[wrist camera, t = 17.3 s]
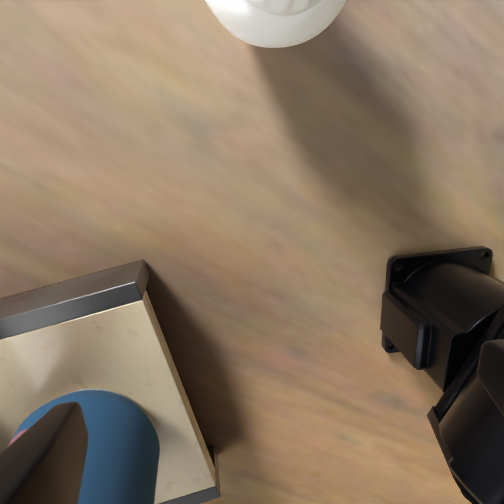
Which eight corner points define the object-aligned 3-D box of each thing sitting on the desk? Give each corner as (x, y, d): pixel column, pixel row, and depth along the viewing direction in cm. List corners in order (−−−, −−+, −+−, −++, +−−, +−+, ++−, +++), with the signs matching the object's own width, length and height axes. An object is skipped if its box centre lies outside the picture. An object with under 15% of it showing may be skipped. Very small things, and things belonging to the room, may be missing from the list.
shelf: (143, 258, 20) (107, 359, 12) (217, 456, 26) (228, 620, 17) (-148, 338, 20) (-406, 506, 11) (-9, 524, 25) (-112, 731, 17)
